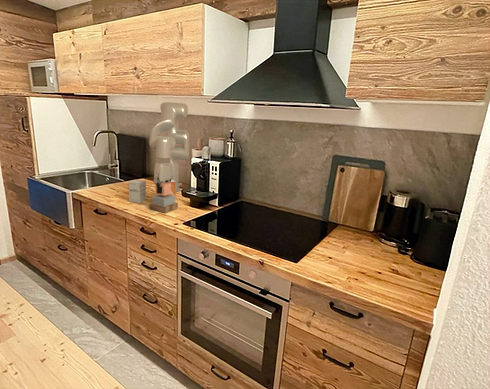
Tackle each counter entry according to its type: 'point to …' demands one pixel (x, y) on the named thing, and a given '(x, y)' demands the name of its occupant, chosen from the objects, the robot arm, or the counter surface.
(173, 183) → the small box
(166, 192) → the terracotta block
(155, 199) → the tower top
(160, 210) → the tower bottom
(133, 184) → the supplement box
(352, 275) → the counter surface
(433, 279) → the counter surface
